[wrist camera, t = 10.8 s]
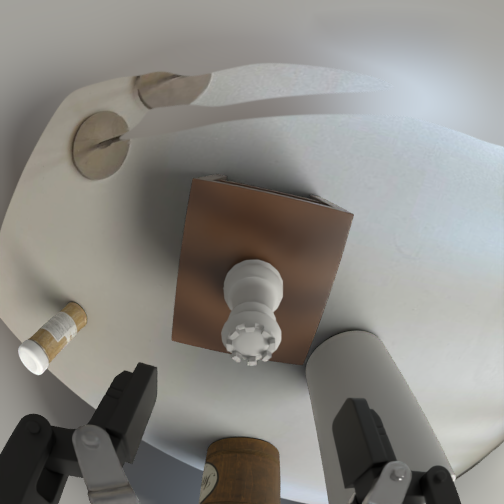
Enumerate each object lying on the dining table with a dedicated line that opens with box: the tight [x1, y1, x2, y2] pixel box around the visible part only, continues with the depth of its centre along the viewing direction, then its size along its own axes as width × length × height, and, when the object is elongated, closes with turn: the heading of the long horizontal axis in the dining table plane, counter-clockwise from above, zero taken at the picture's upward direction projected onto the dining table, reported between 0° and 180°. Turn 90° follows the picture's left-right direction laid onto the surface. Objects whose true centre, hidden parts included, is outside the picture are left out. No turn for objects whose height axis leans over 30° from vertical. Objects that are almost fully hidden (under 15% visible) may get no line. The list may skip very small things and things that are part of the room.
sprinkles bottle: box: [18, 302, 87, 375], centre depth 30 cm, size 5×5×14 cm
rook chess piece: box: [221, 260, 283, 366], centre depth 18 cm, size 4×4×8 cm
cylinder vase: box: [306, 331, 456, 504], centre depth 26 cm, size 12×12×25 cm
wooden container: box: [199, 437, 280, 504], centre depth 35 cm, size 15×15×22 cm
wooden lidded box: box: [172, 174, 354, 365], centre depth 27 cm, size 14×12×12 cm
